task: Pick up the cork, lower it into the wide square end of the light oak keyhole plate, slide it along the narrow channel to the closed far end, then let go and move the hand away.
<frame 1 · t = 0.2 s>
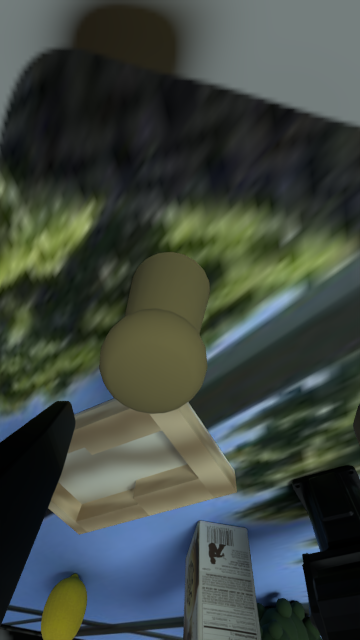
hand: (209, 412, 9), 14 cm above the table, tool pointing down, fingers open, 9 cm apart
cork: (170, 290, 23), on the table
lemon: (76, 572, 45), on the table
keyhole plate: (121, 456, 32), on the table
toy figurine: (290, 612, 47), on the table
coffee box: (215, 540, 39), on the table
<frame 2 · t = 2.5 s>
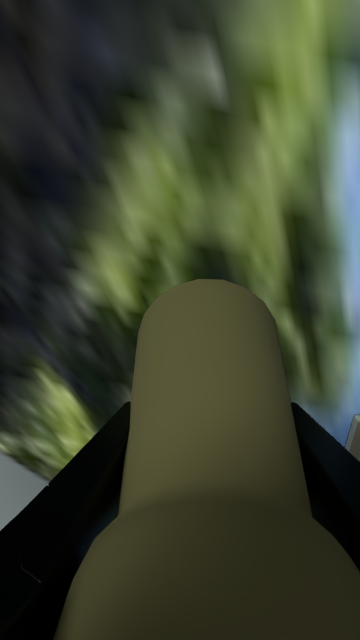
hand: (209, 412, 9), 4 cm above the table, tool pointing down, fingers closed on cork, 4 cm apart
cork: (206, 342, 13), on the table, touching gripper
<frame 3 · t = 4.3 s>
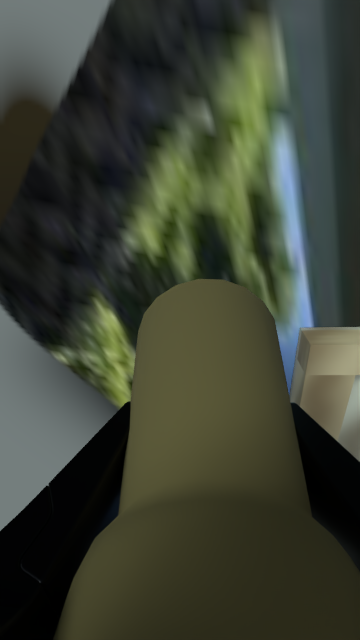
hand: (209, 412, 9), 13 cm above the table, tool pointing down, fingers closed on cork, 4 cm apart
cork: (206, 342, 13), point 8 cm above the table, touching gripper
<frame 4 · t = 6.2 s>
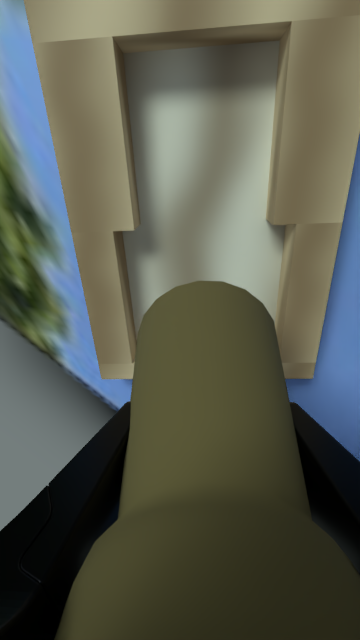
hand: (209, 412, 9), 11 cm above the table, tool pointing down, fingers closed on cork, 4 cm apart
cork: (206, 343, 13), point 7 cm above the table, touching gripper
keyhole plate: (202, 216, 17), on the table
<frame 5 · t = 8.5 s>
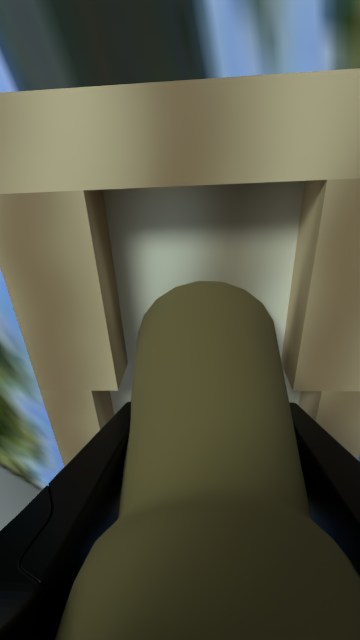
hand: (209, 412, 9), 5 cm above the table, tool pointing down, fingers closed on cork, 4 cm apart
cork: (205, 343, 13), point 1 cm above the table, touching gripper
keyhole plate: (202, 353, 14), on the table
when the fingers open (5 cm above the table, at t = 10.3 s): cork stays where it is, resting on keyhole plate.
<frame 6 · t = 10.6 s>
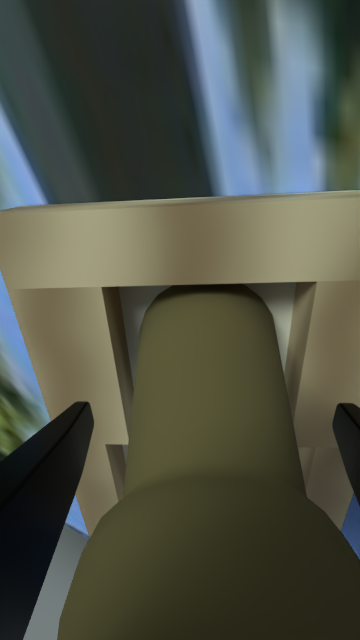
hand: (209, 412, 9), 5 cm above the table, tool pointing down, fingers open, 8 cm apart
cork: (206, 338, 13), resting on keyhole plate
keyhole plate: (206, 404, 16), on the table
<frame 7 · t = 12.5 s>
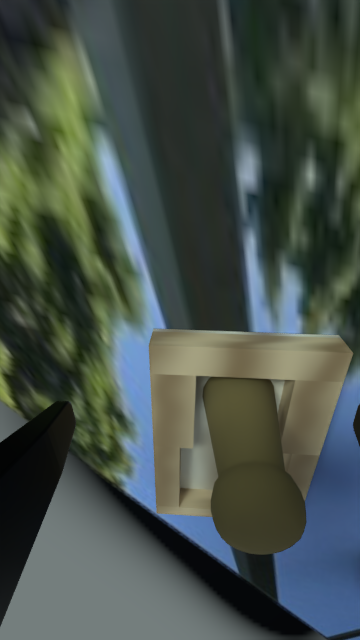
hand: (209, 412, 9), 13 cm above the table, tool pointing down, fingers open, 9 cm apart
cork: (237, 393, 25), resting on keyhole plate
keyhole plate: (232, 426, 27), on the table
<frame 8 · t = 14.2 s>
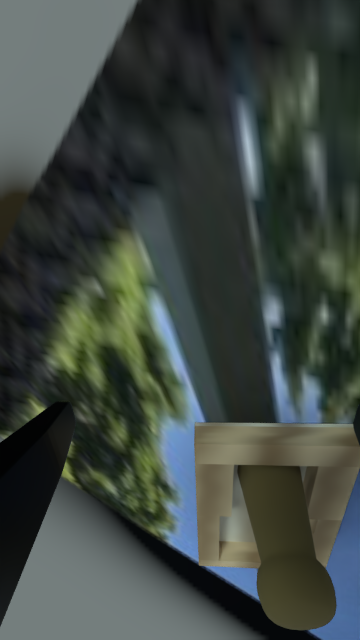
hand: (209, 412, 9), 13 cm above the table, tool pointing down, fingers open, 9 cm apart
cork: (267, 468, 29), resting on keyhole plate
keyhole plate: (263, 492, 31), on the table
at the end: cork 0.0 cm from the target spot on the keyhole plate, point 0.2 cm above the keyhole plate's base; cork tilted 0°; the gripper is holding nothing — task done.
